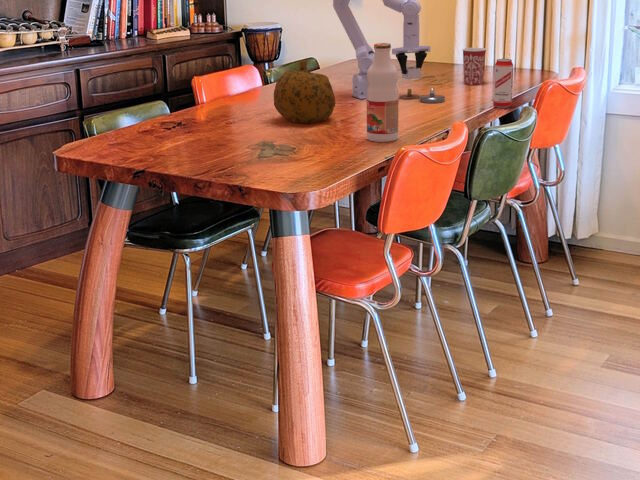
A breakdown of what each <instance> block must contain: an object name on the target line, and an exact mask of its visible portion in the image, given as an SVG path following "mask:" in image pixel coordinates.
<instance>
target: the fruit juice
mask: <svg viewBox="0 0 640 480" xmlns="http://www.w3.org/2000/svg"><path fill="white" fill-rule="evenodd" d="M373 51H374V52H375V57H374V60H373V63H372V65H371V66H370V67H369V69H368V71H367V80H368V83H369V86H368V89H367V97H366V138H367V140H368V141H371V142H376V143H387V142H388V143H389V142H394V141H397V140H398V139H399V99H400V95H399V88H398V86H397V83H398V79H399V72H398V69H397V67H396V66H395V65H394V63H393V61H392V57H391V51H392V46H391V43H388V42H380V43H379V42H378V43H374V44H373Z"/></svg>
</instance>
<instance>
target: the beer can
mask: <svg viewBox="0 0 640 480" xmlns="http://www.w3.org/2000/svg"><path fill="white" fill-rule="evenodd" d="M512 60H513V59H510V58H499V59H496V62H495V63H494V75H493V95H492V96H493V97H492V98H493V101H492V104H493V106H494V107H495V108H497V109H508V108H510V107H511V106H512V104H513V83H514V81H513V79H514V77H513V76H514V64H513V61H512Z"/></svg>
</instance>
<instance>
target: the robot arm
mask: <svg viewBox="0 0 640 480" xmlns="http://www.w3.org/2000/svg"><path fill="white" fill-rule="evenodd" d="M350 1H351V0H333V1H332V6H333V10H334V12H335V13H336V15H337V18H338V19H339V21H340V23H341V25H342V27H343V29H344V30H345V31H344V32H345V33H346V36H347V37H348V39H349V41H350V43H351V45H352V46H353V48H354V50H355V57H356V60H357V67H358V69H359V72H358V73H353V75H352V94H351V96H352V97H354V98H357V99H359V100H363V99H365V100H367V98H366V97H367V89H368V86H369V83H368V80H367V71H368V69H369V67H370V66H371V65H372V63H373V60H374V57H375V50H374V48H372V47H371V45H370V44H368V42H367V40H366V37H365V36H364V33H363V32H362V29H361V28H360V25H359V23H358V22H357V20H356V18H355V16H354V13H353V12H352V10H351V8H350V6H349V4H350ZM381 1H382V2H383V5H384V7H387V8H389V9H391V10H394V11H395V12H398V13H400V14H402V15H403V25H402V26H403V28H402V31H403V32H402V33H403V35H402V36H403V37H402V39H403V40H402V41H403V42H402V45H403V46H401V47H395V48H391V55H395V57H396V59H397V61H398V63H399V66H400V70H401V71H400V72H401V75H402V74H406V67H407V61H408V55H406V54H413V53H414V58H415V67H419V68H421V69H422V67H423V64H424V61H425V59H426V57H427V56H428V53H429V52H431V46H430V45H420V12H421V8H422V7H421V3H420V2H419V1H417V0H381ZM427 52H428V53H427Z"/></svg>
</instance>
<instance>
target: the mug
mask: <svg viewBox="0 0 640 480" xmlns="http://www.w3.org/2000/svg"><path fill="white" fill-rule="evenodd" d="M486 53H487V49H486V48H485V47H484V48H483V47H466V48H463V49H462V58H463V59H462V63H463V84H464V85H466V86H481V85H483V83H484V82H483V81H484V72H485V63H486V62H485V60H486Z"/></svg>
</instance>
